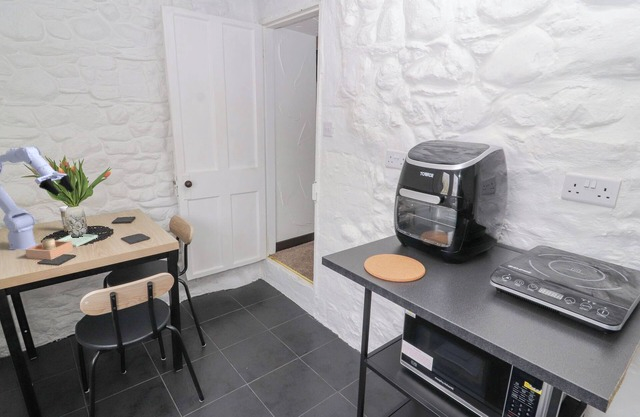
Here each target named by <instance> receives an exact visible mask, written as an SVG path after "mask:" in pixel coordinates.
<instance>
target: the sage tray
mask: <svg viewBox="0 0 640 417" xmlns="http://www.w3.org/2000/svg"><path fill="white" fill-rule="evenodd" d="M82 234H83V235H82V236H83V237H79V238H72V237H71V234H69V235H66V236H64V237H61V238H58V239H56V241H72V245H73V248H77V247H79V246H81V245H84V244H86V243H88V242H90V241H93V240H97V239H99V236H98V234H85V233H82ZM96 238H97V239H96Z"/></svg>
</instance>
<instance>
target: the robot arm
mask: <svg viewBox="0 0 640 417" xmlns="http://www.w3.org/2000/svg"><path fill="white" fill-rule="evenodd" d="M5 152H6V153H4V154H0V176H2V172H3V168H4V163H8V162H9V163H12V164H17V163H21V162H25V163H26V164H27V165H29V166H30V167H31V169H33V170H34V171H35V173H37V175H38V176H39V177H37V178H35V180H34V182H35V183H36V184H37V185H38V187H39V188H40V189H42V190H44V191H47V192H49V193H51V194H52V195H54V196H55V197H57V196H58V195H59V194H61V193H60V191H59V189H58V188H57V187H56V185H55V184H54V181H59V183H58V185H60V186H61V187H63V188H64V189H66V191H67V192H69V193H73V192H74V191H75V189H74V187H73V185H72V182H71V177H70V176H69V174H67V173H62V172H61V173H60V172H59V171H57V170H56V171H55V169H54V168H52V167H51V165H50V164H49V163H48V162H47V161H46V160H45V159H44V158H43V156H41V155H42V154H41V151H40V149H39V148H38V147H37V146H34V145H33V146H32V145H31V146H20V147H19V148H15V147H13V148H9V150H7V151H5ZM0 209H1V211H3V213H5V215H4V217H3V218H2V221H3V222H4V224H5V227H6V229H8V233H7V240H8V244H9V248H8V250H12V251H13V250H14V251H16V250H19V251H20V250H21V251H25V249H28V248H30V247H33V246H35V245H38V244H40V243H37V242H36V241H35V235H34V230H33V228H34V225H36V218H35V216H34V215H32V214H31V213H30V212H28V210H27V209H22V208H19V207H18V205H17V204H16V203H15V202H14V200H13V198H12V197H10V195H9V194H8V193H7V192H6V190H5V189H4V188H3V186H2V185H0Z"/></svg>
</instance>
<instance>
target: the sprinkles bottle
mask: <svg viewBox="0 0 640 417" xmlns="http://www.w3.org/2000/svg"><path fill="white" fill-rule="evenodd" d="M68 206H69V205H64V206H59V212H60V215H61V217H60V218H61V222H62V227H63V232H67V226H66V217H65V210H66V208H67V207H68Z"/></svg>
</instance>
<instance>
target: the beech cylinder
mask: <svg viewBox="0 0 640 417" xmlns="http://www.w3.org/2000/svg"><path fill="white" fill-rule="evenodd" d="M41 243H42V245H43V250H51V249H53V248H56V245H55V238H53V237H51V238H46V239H43V240H41Z"/></svg>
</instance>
